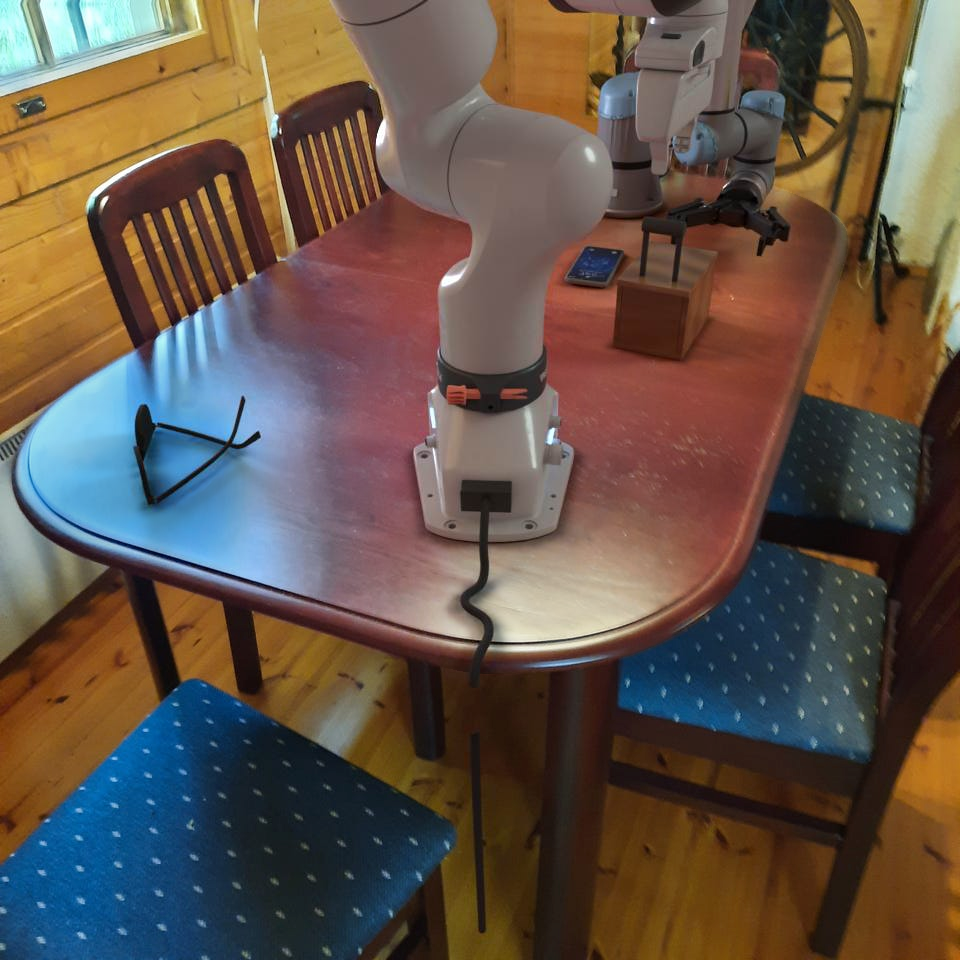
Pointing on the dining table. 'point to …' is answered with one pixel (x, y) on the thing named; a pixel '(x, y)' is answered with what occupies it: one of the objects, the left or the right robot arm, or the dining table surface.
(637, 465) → the dining table surface
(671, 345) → the chest
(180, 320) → the dining table surface
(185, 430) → the sunglasses
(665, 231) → the lid
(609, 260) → the smartphone
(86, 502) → the dining table surface
